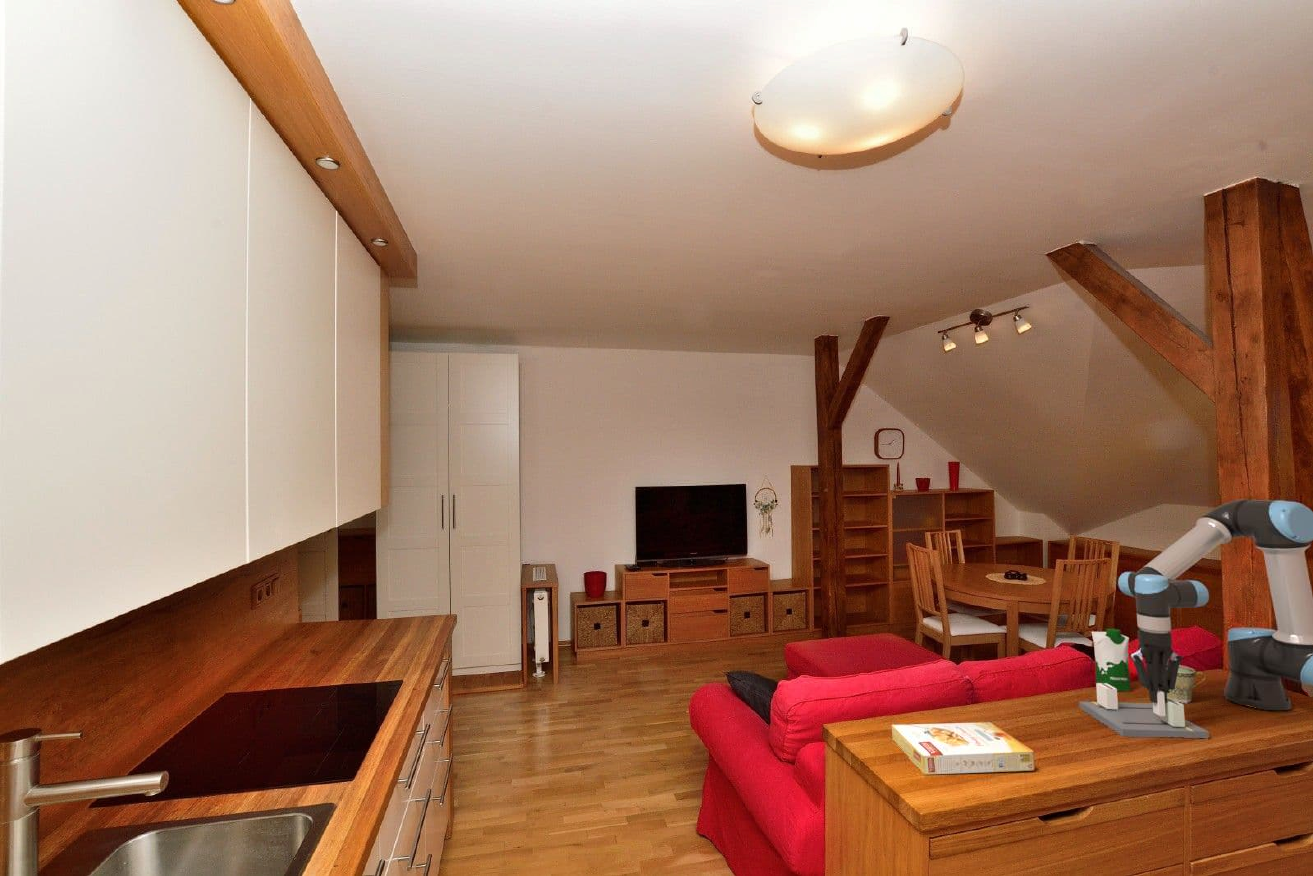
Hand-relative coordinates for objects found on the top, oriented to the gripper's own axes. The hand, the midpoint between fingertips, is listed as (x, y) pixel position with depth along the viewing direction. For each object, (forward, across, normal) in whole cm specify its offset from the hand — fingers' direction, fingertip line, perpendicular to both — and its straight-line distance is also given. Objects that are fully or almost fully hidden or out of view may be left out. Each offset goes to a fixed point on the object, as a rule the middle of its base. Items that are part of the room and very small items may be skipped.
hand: (1159, 714), depth 174 cm
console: (+5, +2, -6) cm, 8 cm away
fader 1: (+2, +7, -12) cm, 14 cm away
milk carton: (+5, -8, -36) cm, 37 cm away
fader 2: (+2, -3, 0) cm, 4 cm away
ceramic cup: (+5, -23, -26) cm, 35 cm away
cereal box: (+5, +62, +20) cm, 65 cm away
